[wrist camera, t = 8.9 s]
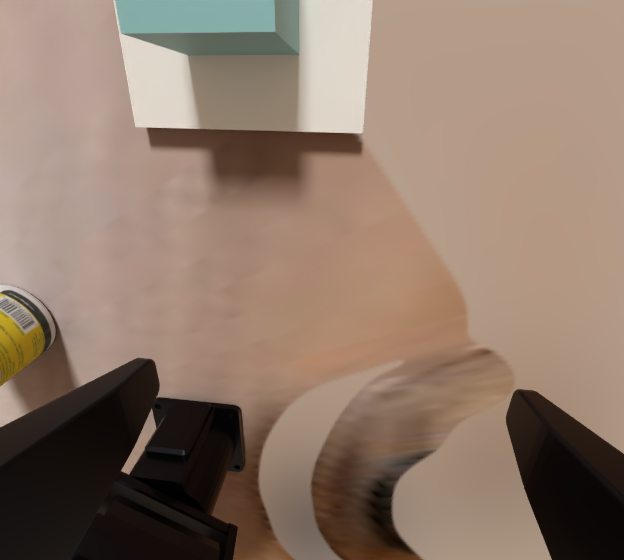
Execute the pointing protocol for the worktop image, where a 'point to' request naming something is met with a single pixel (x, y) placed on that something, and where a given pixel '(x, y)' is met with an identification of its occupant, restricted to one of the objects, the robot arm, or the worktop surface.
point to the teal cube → (214, 25)
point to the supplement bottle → (22, 330)
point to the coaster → (260, 79)
